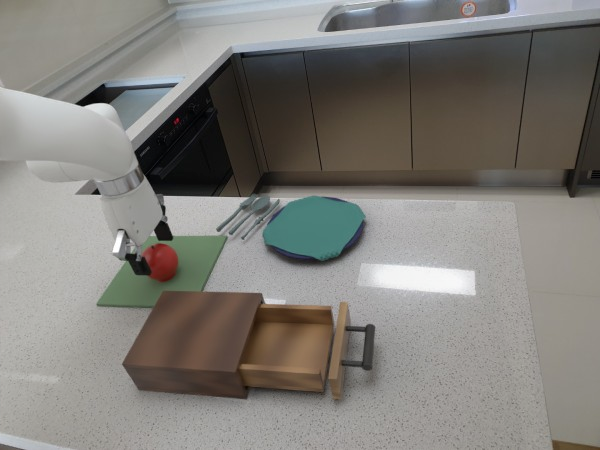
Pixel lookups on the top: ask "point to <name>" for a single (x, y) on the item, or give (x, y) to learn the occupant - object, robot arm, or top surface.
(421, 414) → the top surface
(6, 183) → the top surface
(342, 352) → the drawer
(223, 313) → the cabinet
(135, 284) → the mat
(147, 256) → the apple
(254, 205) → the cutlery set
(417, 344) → the top surface
